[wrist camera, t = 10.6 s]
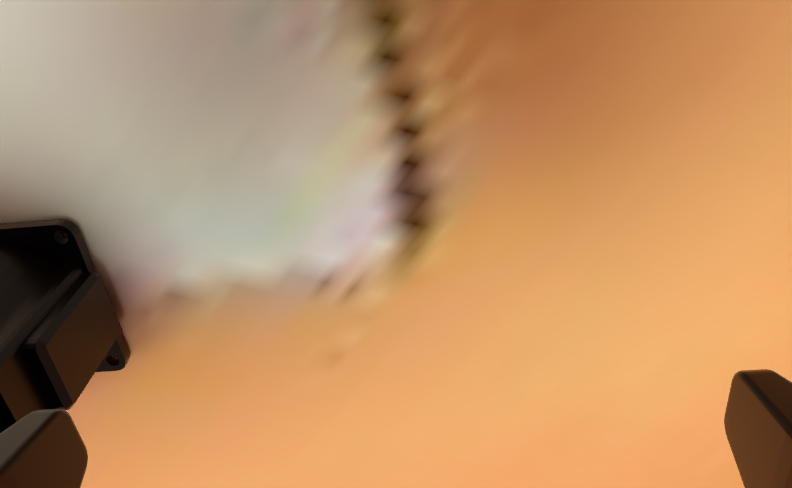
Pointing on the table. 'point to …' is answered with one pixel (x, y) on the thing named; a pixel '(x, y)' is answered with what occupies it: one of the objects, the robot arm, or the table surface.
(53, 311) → the robot arm
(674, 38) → the table surface
